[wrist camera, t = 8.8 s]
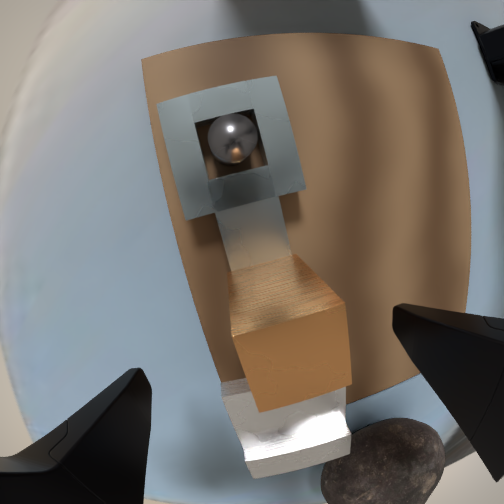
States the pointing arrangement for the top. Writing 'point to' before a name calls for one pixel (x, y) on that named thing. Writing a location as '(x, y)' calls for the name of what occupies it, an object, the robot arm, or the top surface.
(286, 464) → the block
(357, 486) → the dark brown tapered bulb
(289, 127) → the link
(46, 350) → the top surface
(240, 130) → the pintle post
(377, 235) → the base board
